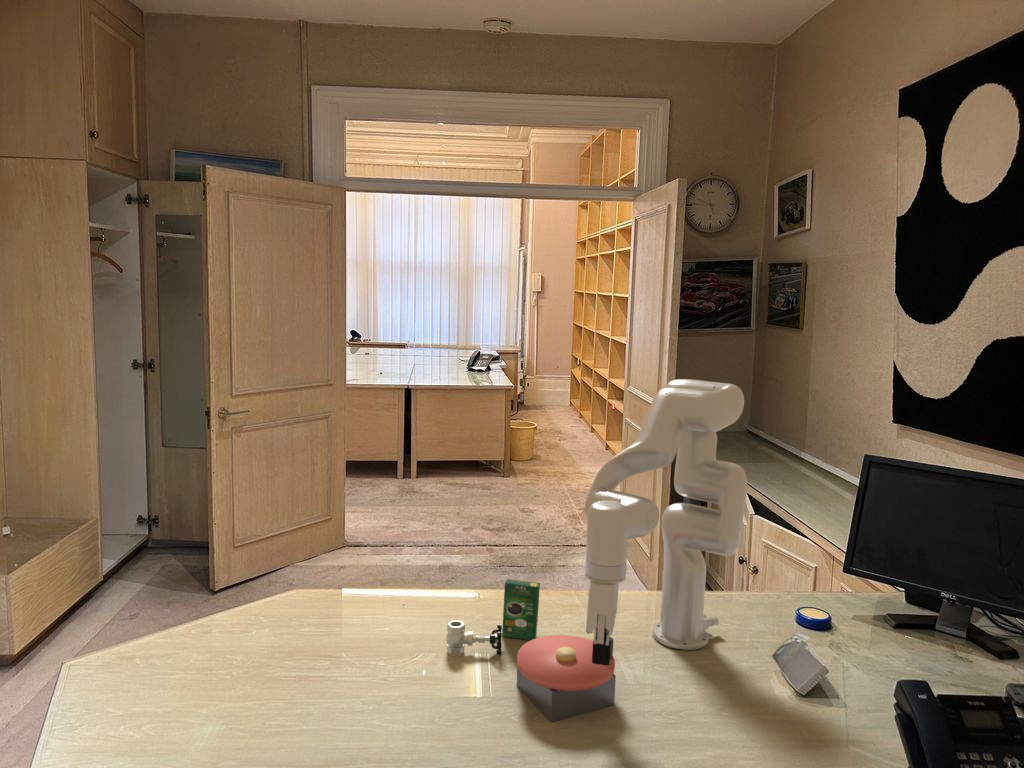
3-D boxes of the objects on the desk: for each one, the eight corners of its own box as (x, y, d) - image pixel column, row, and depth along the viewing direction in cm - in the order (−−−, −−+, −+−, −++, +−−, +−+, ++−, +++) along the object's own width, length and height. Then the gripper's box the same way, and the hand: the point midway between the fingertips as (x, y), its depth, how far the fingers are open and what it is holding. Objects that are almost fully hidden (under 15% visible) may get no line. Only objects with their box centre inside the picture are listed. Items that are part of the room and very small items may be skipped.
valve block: (576, 670, 154) (577, 643, 153) (614, 704, 141) (615, 675, 141) (516, 684, 148) (517, 656, 147) (550, 722, 135) (552, 691, 134)
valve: (444, 660, 157) (501, 661, 157) (445, 630, 156) (501, 631, 156) (447, 645, 163) (500, 646, 164) (447, 616, 163) (501, 617, 163)
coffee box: (538, 635, 169) (540, 581, 167) (536, 641, 166) (538, 586, 164) (504, 632, 170) (505, 577, 168) (501, 637, 167) (503, 582, 166)
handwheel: (523, 692, 133) (524, 666, 133) (511, 642, 152) (512, 619, 151) (625, 689, 135) (627, 663, 135) (601, 640, 154) (602, 617, 154)
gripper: (589, 553, 144) (585, 641, 146) (581, 581, 129) (576, 679, 132) (627, 557, 142) (623, 646, 145) (623, 586, 128) (618, 685, 130)
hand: (600, 662), depth 138 cm, fingers closed
